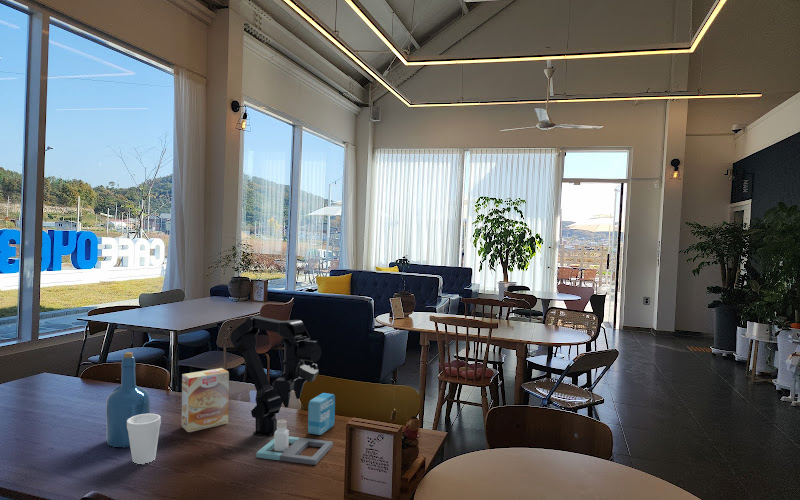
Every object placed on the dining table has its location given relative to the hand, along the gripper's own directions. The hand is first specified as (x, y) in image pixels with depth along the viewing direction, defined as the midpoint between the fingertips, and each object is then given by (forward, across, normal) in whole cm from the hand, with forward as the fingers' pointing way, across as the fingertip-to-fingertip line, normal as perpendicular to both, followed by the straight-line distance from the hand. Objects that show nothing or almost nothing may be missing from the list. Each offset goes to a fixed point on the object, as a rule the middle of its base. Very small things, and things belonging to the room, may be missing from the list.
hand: (292, 402), depth 184 cm
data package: (+13, +12, -6) cm, 19 cm away
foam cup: (+13, -27, +37) cm, 48 cm away
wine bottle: (+13, -16, +52) cm, 56 cm away
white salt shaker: (+13, -8, 0) cm, 15 cm away
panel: (+13, -8, -5) cm, 16 cm away
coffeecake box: (+13, +4, +36) cm, 39 cm away
